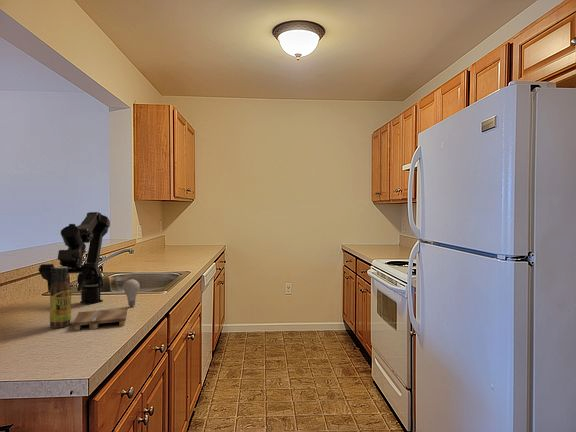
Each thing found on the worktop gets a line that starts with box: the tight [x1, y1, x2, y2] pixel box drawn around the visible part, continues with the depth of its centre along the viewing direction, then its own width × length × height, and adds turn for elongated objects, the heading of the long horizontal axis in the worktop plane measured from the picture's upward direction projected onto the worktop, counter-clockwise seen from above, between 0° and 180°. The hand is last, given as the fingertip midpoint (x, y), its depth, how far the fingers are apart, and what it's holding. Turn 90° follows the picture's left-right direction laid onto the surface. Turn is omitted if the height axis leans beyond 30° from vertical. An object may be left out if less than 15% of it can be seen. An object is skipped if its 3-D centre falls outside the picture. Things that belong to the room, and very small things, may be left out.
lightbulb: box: [122, 278, 141, 308], centre depth 159 cm, size 6×6×11 cm
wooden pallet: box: [71, 307, 128, 331], centre depth 137 cm, size 16×14×2 cm
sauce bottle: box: [49, 265, 72, 329], centre depth 133 cm, size 6×6×20 cm
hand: (63, 290), depth 136 cm, fingers open, 9 cm apart
